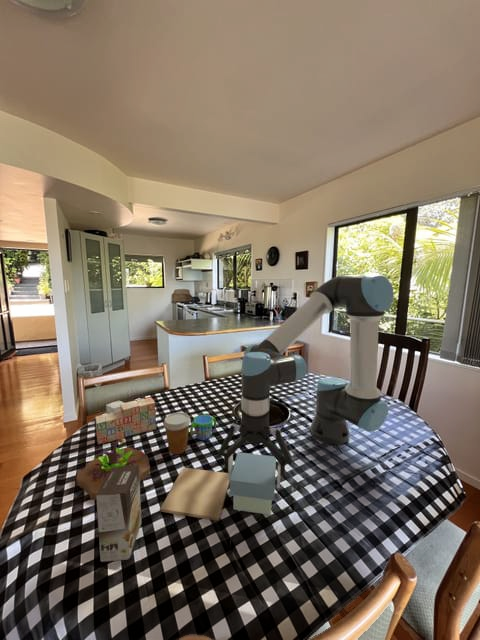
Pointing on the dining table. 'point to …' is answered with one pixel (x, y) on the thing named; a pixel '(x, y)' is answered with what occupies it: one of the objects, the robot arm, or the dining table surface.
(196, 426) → the snack cup
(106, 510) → the coffee box
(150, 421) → the stack of blocks
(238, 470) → the lid
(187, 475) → the cork mat
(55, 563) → the dining table surface
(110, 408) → the skincare box
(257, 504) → the storage box
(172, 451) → the disposable coffee cup
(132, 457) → the plant
